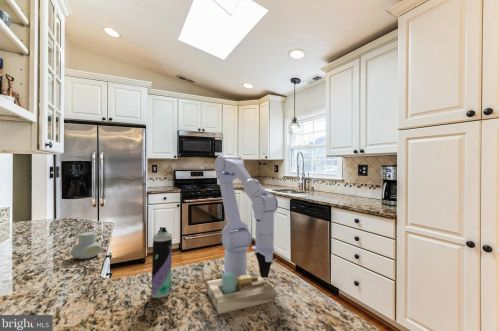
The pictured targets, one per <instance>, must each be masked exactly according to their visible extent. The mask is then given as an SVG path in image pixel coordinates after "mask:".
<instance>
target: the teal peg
mask: <svg viewBox="0 0 499 331" xmlns="http://www.w3.org/2000/svg"><path fill="white" fill-rule="evenodd" d="M221 279H222V294H223V295H225V294H230V293H234V292H236V274H235V273H234V272H225V273H224V272H223V273H222V274H221Z"/></svg>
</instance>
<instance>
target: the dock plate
mask: <svg viewBox="0 0 499 331" xmlns="http://www.w3.org/2000/svg"><path fill="white" fill-rule="evenodd" d="M244 275H247V274H244ZM249 275H250V276H251V277H252V284H248V285H243V286H242V288H239V287H238V286H237V276H236V292H234V293H230V294H225V295H223V294H222V278H218V279H212V280H208V281H206V293H207V295H208V296H209V299H210V300H211V302H212V304H213V306H214V309H215V310H216V312H217V314H218V315H221V314H225V313H229V312H233V311H237V310H242V309H245V308H246V309H247V308H249V307H254V306H258V305H262V304H266V303H271V302H275V301H276V289H275V288H274V287H273V286H272V285H270V283H268V282H267V281H266V280H265V279H264V278H261V275H260V274H259V273H257V272H256V271H255V272H249ZM238 276H241V275H238Z"/></svg>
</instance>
